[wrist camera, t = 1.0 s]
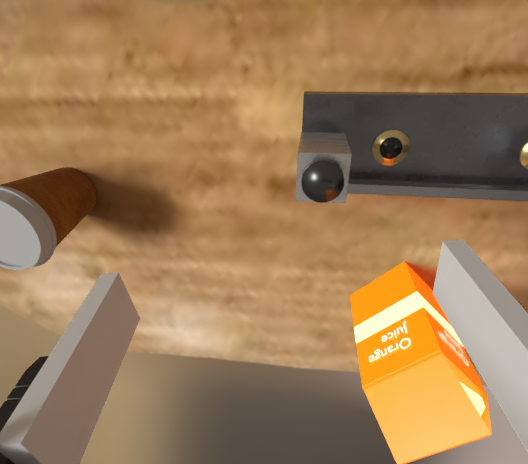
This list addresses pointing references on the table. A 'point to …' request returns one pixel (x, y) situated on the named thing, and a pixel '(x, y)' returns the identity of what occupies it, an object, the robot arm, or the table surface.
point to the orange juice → (416, 368)
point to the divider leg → (323, 167)
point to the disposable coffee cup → (41, 215)
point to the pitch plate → (429, 142)
